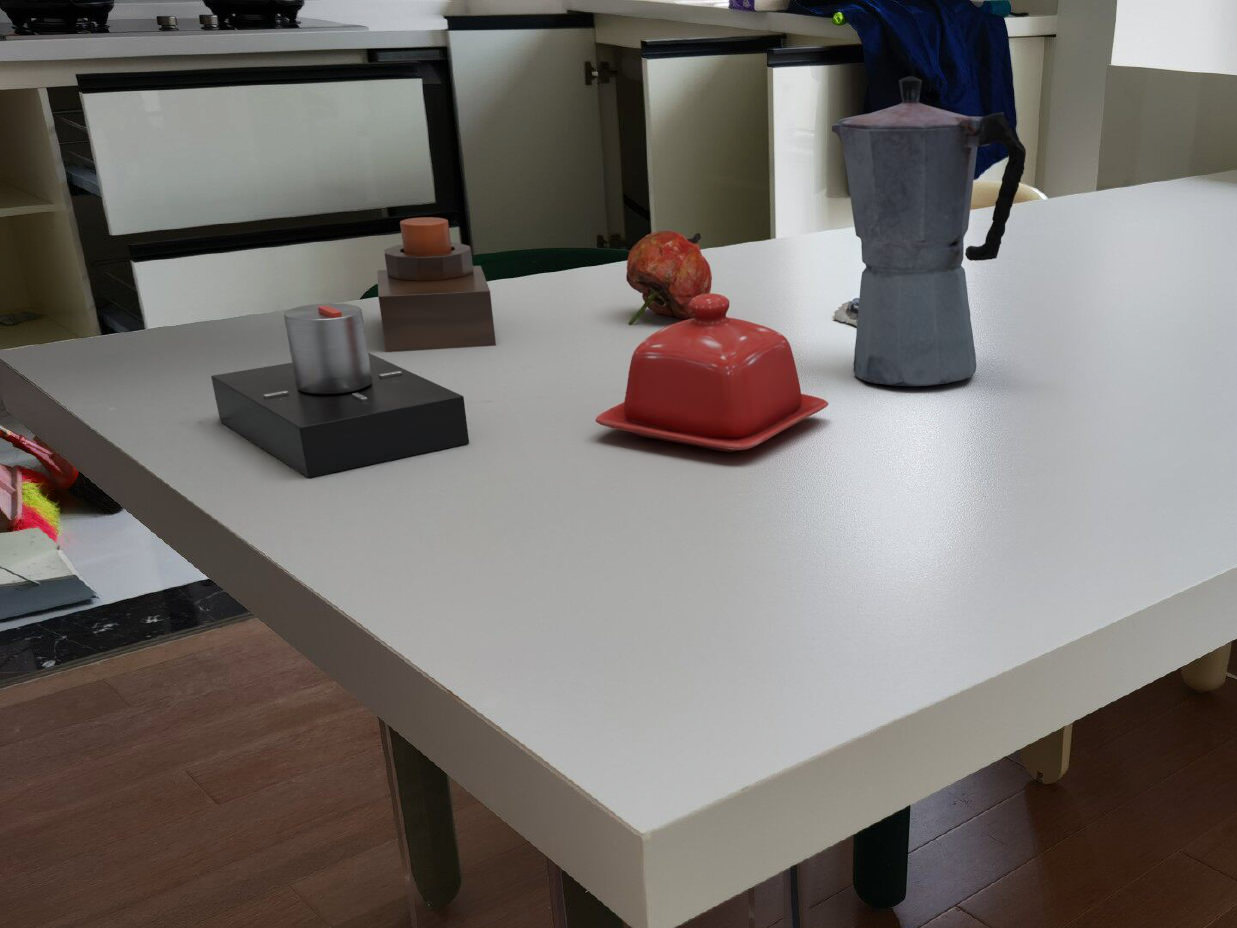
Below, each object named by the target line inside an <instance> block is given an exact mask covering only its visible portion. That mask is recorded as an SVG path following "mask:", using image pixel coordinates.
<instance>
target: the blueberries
mask: <svg viewBox="0 0 1237 928" xmlns="http://www.w3.org/2000/svg"><path fill="white" fill-rule="evenodd" d="M859 298H860V297H855V298H853V299H852V300H851V301H850V300H849V301H847V302H843V303H841V306H839V307H837V308H838V309H835V310H834V315H833V316H834V317H832V318H833V319H832V320H837V321H838V322H841V323H846V324H849V325H853V326H854V327H857V320H858V309H859Z"/></svg>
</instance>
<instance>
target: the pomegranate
mask: <svg viewBox="0 0 1237 928" xmlns="http://www.w3.org/2000/svg"><path fill="white" fill-rule="evenodd" d="M700 240H702V235H701V233H700V232H697V233H695V234H694V235H693V236H692V237H690V238H687V237H685V235H684V234H682V233H679V232H676V231H672V230H659V231H653V232H651V233H649V234H647V235H645V236H643V237H642V238H641V239H640V240H639V241H637V242H636V243H635V244H634V245H633V246H632V248H631V249H630V250H629V253H628V257H627V261H626V275H625V276H626V277H625V279H626V282H627V283H628V285H629V286H630V287H631V288H632V289H633V290H635V291H637V292H638V293H639V294H641V297H642V301H643V302H644V303H643V304H642V306H641V307H640V309H639V310H638V311H637V312H636V313H635V314H634V316H633V317H632V318H631V319H630V320H629V322H628V325H629V326H632V325H633V324H634V323H635V322H636V321H637V320H638V318H639V317H641V315H643V314H644V313H645V311H646V309H647V308H648V309H649V310H650V311H652V312H654V313H656V314H657V315H662V316H670V317H676V318H677V319H680V320H687V319H690V318H691V317H693V316H695V315H694V312H693V311H692V310H691V309H690V308H689V302H690V301H691V300H692V299H693V298H694V297H696V296H699V295H702V294H708V293H711V291H712V280H713V277H712V276H713V275H712V270H711V265H710V263H709V262H708V260H707V258H706V257H705V256H703V253H702V251H701V248H700V245H698V243H699V241H700Z"/></svg>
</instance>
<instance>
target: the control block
mask: <svg viewBox="0 0 1237 928" xmlns="http://www.w3.org/2000/svg"><path fill="white" fill-rule="evenodd" d="M451 250H452V251H451V252H447V253H440V254H424V255H418V254H406V253H404V249H403V244H397V245H393V246H390V247H387V248H384V249H383V252H384V261H385V268H386V269H378V270H377V291H378V292H377V295H378V303H379V304H378V305H379V311H380V317H381V325H382V331H383V339H384V346H385V352H386V353H397V352H415V351H428V350H429V351H431V350H446V349H463V348H479V347H480V348H481V347H494V346H495V347H496V346H497V342H496V332H495V324H494V323H495V322H494V315H493V305H492V295H491V290H490V287H489V284H488V281H487V279H486V276H485V273H484V270H483V268H482V265H473V264H474V263H473V255H472V249H471V246H470V245H468V244H463V243H459V242H451Z"/></svg>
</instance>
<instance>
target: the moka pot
mask: <svg viewBox="0 0 1237 928" xmlns="http://www.w3.org/2000/svg"><path fill="white" fill-rule="evenodd" d="M922 83H923V80H922V79H920V78H918V77H915V76H911V75H910V76H906V77H903V78H901V79H898V85H899V90H900V97H901V103H898V104H896V105H893V106H889V107H887V108H883V109H880V110H877V111H873V112H870V113H863V114H860V115H854V116H850V117H849V116H848V117H843V118H841V119H839V120H838V121H837V122H836V123H834V124H832V126H831V132H832V133H834V134H836V135H837V136H838V138H839V141H840V143H841V145H842V148H843V157H844V162H845V168H846V175H847V182H848V183H847V184H848V191H849V197H850V198H849V199H850V204H851V212H852V218H853V224H854V232H855V237H857V238H859V240H860V242H861V244H860V245H861V246H860V247H861V262H862V263H863V264H864V265H865V268H864V269H863V271H861V278H860V285H859V287H860V288H859V297H858V298H859V309H858V320H857V326H856V335H855V345H854V355H853V368H852V369H853V370H852V372H853V373H854V375H855V376H856V377H857V378H859V379H860V380H861V381H865V382H867V383H872V384H874V385H875V384H877V385H878V384H879V385H885V386H894V387H895V386H897V387H929V386H935V385H942V384H943V385H944V384H949V383H953V382H960V381H964V380H969V379H971V377H973V376H974V375H975V374H976V371H977V353H976V347H975V342H974V340H975V339H974V333H973V326H972V321H971V308H970V302H969V294H968V293H969V292H968V286H967V277H966V271H965V268H964V267H963V266H962V264H963V261H964V256H965V257H966V259H967V260H968V261H971V262H972V261H975V262H976V261H978V262H979V261H988V260H995V259H997V258H998V256H999V255H998V254H999V251H1000V247H1001V244H1002V238H1003V237H1004V235H1005V233H1006V224H1007V222H1008V219H1009V218H1010V216H1011V209H1012V207H1013V204H1014V200H1015V196H1016V195H1017V192H1018V190H1019V187H1020V183H1021V182H1022V180H1021V179H1022V177H1023V175H1024V172H1025V162H1026V156H1027V150H1026V147H1025V145H1024V144H1023V143H1022V142H1021V140H1020V138H1019V136H1018V134H1017V133H1016V131H1015V130H1014V129H1013V128H1011V126H1010V124H1011V123H1010V121H1009V120H1007V119H1006V118H1005V112H1004V111H999V112H996V113H991V114H988V115H985V116H968V115H964V114H961V113H956V112H952V111H950V110H949V111H948V110H946V109H941V108H938V107H935V106H930V105H928V104H924V103H922V102H920V96H921V90H922ZM1012 129H1013V130H1012ZM994 143H999V144H1002V145H1003V147H1004V148H1005V149H1006V151H1007V153H1008V154H1007V155H1008V158H1007V159H1008V160H1007V162H1006V165H1005V167H1004V172H1003V175H1002V177H1001V184H1000V187H999V190H998V195H997V198H996V200H995V202H994V205H995V206H994V209H993V213H992V219H991V220H992V223H991V225H990V227H989V229H988V231H987V233H986V235H985V240H984V243H983V244H982V245H979V246H978V245H977V246H975V245H969V246H967V247H966V248H964V247H965V246H964V245H965V244H964V240H965V237H966V234H967V232H968V230H969V225H970V217H971V207H972V198H973V189H974V188H973V187H974V179H975V171H976V163H977V154H978V147H987V146H990V145H992V144H994ZM964 249H965V251H964ZM964 252H965V254H964Z"/></svg>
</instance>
